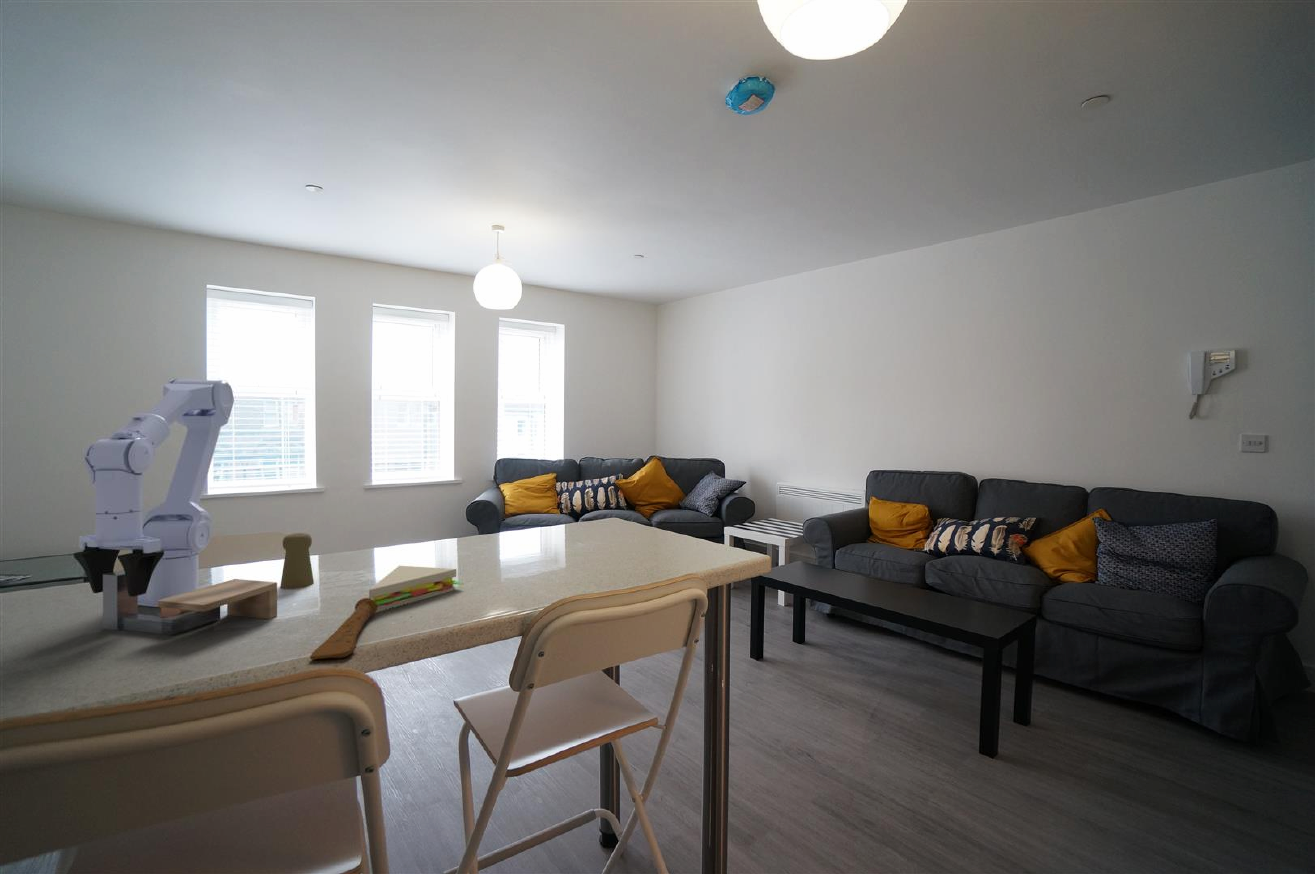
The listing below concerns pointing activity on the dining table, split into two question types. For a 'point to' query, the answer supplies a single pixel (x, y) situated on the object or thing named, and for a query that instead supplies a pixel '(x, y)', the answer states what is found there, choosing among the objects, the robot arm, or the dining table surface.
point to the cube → (170, 611)
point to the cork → (297, 562)
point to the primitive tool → (346, 632)
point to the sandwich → (411, 585)
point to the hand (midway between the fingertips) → (119, 593)
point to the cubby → (230, 598)
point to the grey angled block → (124, 614)
